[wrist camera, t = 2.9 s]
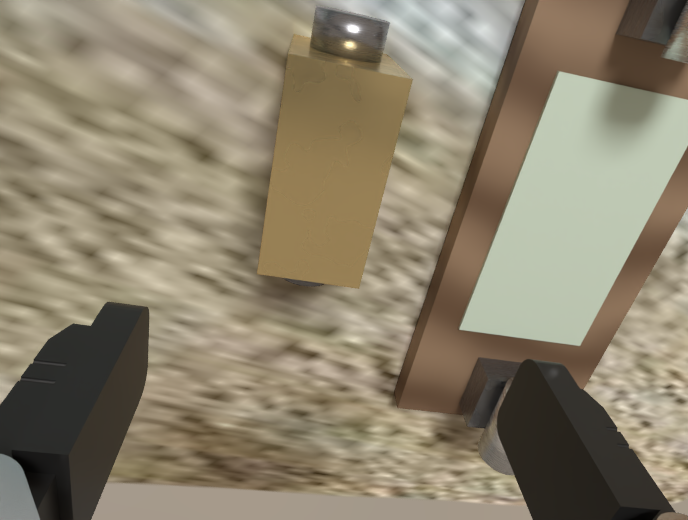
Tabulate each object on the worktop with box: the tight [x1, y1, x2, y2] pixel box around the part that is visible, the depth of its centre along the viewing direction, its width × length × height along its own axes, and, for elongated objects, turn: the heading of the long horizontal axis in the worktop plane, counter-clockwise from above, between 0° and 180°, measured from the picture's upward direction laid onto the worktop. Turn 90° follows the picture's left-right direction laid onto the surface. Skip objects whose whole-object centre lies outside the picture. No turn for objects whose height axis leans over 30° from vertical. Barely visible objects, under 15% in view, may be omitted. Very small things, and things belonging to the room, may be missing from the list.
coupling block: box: [257, 6, 413, 289], centre depth 23 cm, size 12×4×7 cm, turn 168°
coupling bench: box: [394, 0, 688, 475], centre depth 26 cm, size 29×12×6 cm, turn 168°
